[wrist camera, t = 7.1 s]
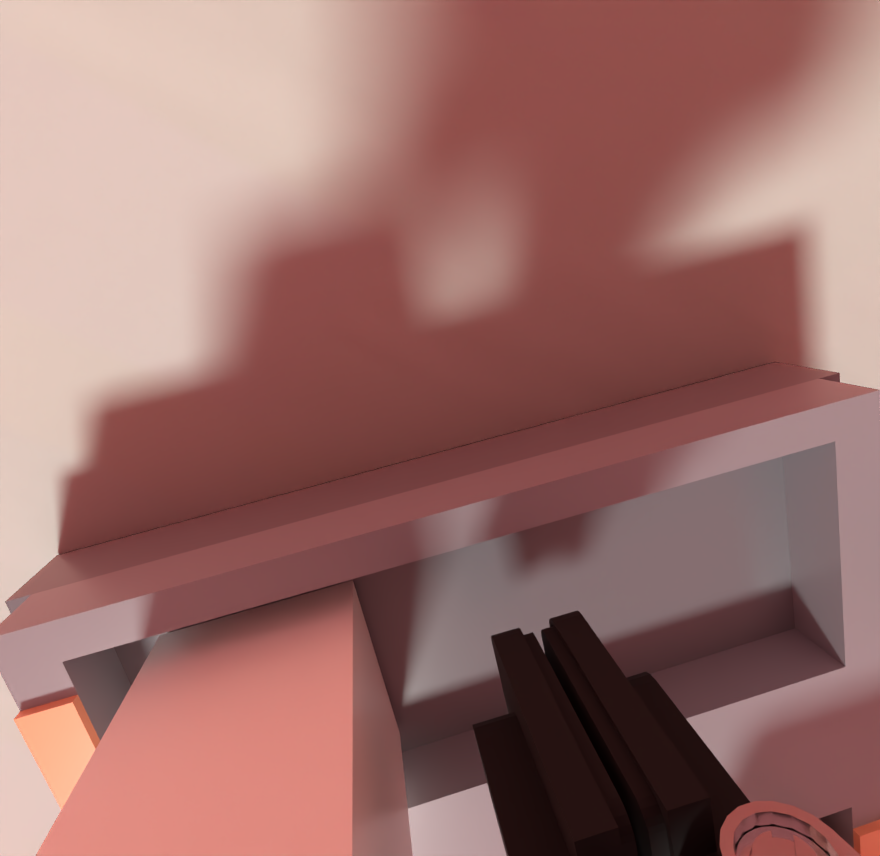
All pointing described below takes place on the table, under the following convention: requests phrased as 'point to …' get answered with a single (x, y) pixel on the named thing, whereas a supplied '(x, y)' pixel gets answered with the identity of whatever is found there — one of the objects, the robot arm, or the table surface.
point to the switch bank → (538, 591)
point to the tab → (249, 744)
